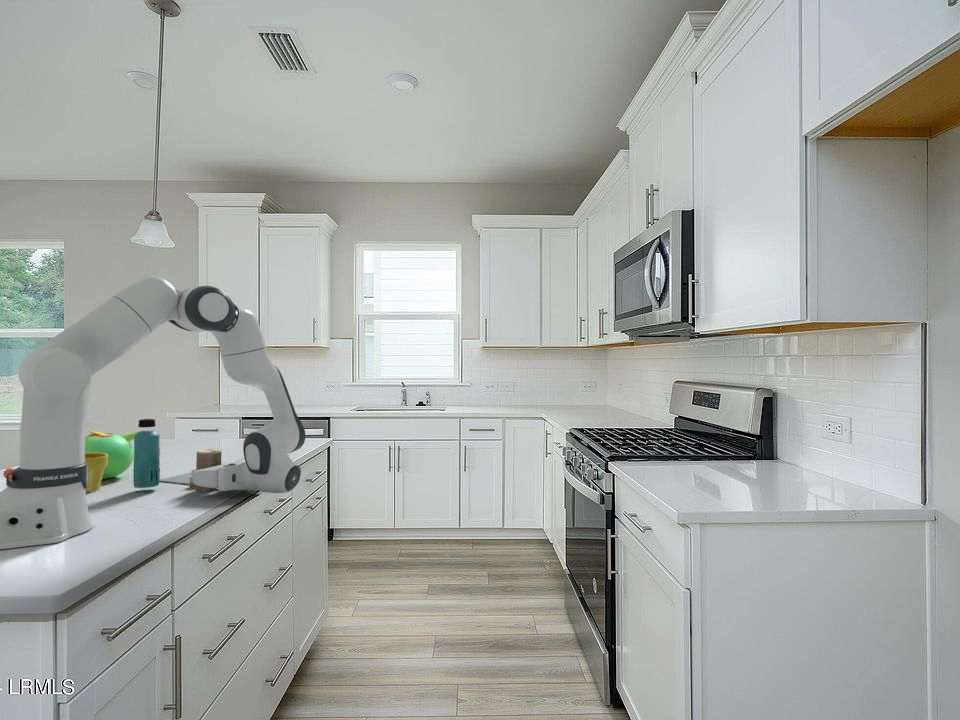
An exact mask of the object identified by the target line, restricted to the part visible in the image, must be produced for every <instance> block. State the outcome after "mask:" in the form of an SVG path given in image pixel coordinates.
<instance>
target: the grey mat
mask: <svg viewBox="0 0 960 720" xmlns="http://www.w3.org/2000/svg"><path fill="white" fill-rule="evenodd" d="M190 476H192V475H191V472H187V473H183V474H177V475H174V476H170V477H165V478H159V480H160V481H159V483H167V482H168V483H167V484H169V483H170V484H176V483H177V485H178V484H179V485H184V484H188V485H187V486H189V484H190Z"/></svg>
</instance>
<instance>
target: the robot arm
mask: <svg viewBox="0 0 960 720" xmlns="http://www.w3.org/2000/svg"><path fill="white" fill-rule="evenodd" d="M167 322H169V323H171V324H172V325H174V326H176V327H177V328H179V329H182V330H184V331H187V332H197V333H199V332H209V333H211V334H212V335H213V336H214V338H215V339H216V341H217V344H218V347H219V353H220V356H221V361H222V365H223V368H224V371H225V373H226V374H227V376H228V377H229V379H232V380H233V381H234V382H236V383H238V384H241V385H245V386H250V387H251V386H252V387H256V388H259V389H260V390H262V392H263V393H264V395H265V397H266V400H267V403H268V406H269V408H270V411H271V413H272V417H273V419H272V422H271V423H269V424H267V425H266V426H262V427H260V428H258V429H256V430H254V431H253V432H250V433H248V434H247V435H246V437H245V439H244V441H243V444H242V445H243V446H242V451H243V456H242V457H239V458H237V459H236V460H234V461H232V462H227V463H223V462H221V465H218V466H214V467H209V468H205V469H192V470H191V472H190V473H191V475H192V476H193V483H194V484H195V485H197V486H202V487H208V488H218V489H217V490H218V491H219V492H229V491H238V490H239V491H250V492H256V491H257V492H258V491H260V492H262V493H269V494H285V493H289V492H291V491H293V489H295V488H296V487H297V485H299V481H300V479H301V475H302V470H301V467H300V465H299V464H297V463H295V462H294V461H293V460H292V459H291V458H290V456H289V454H291V453H293V452H295V451H298V450H299V449H301V448H302V447H303V445H304V443H305V441H306V431H305V427H304V424H303V423H302V422H301V420H300V418H299V416H298V414H297V412H296V410H295V407H294V404H293V401H292V398H291V396H290V393H289V390H288V388H287V385H286V383H285V380H284V376H283V375H282V373H281V371H280V369H279V368H278V367H277V365H274V363H273V361H272V359H271V358H270V355H269V353H268V349H267V347H266V341H265V338H264V335H263V332H262V330H261V326H260V325H259V321H258V320H257V317H256V315H255V314H254V313H253V312H252V311H251V310H250V309H249V310H248V309H246V308H242V307H241V308H239V306H237V305H236V304H235V303H234V302H233V301H232V299H231V298H230V296H229V295H228V293H226V291H224V290H222V289H221V288H219V287H216V286H213V285H201V286H191V287H188V288H183V289H177V288H175V286H173V284H171V283H170V282H169V281H168V280H166V279H164V278H162V277H160V276H155V275H149V276H146V277H144V278H142V279H138V280H137V281H135V282H134V283H132V284H130V285H128V286H126V287H124V288H122V289H121V290H120V291H118V292H117V293H115V294H114V295H113V296H111V297H109V298H108V299H107V300H105V301H104V302H103V303H102V304H100V305H98V306H97V307H96V308H95V309H93V310H92V311H90V312H89V313H88V314H86V315H85V316H84V317H82V318H80V319H79V320H77V321H76V322H74V323H73V324H71V325H70V326H68V327H66V328H65V329H64V330H62V331H61V332H60V333H58V334H57V335H55V336H53V337H52V338H51V339H49V340H48V341H46V342H45V343H43V344H42V345H40V346H39V347H38V348H36V349H35V350H33V351H32V352H30V353H29V354H27V355H26V356H25V357H24V358H23V359H22V361H21V362H20V364H19V366H18V371H17V372H18V373H17V375H18V379H19V383H20V385H21V386H22V387H23V392H22V409H21V419H20V426H19V465H18V467H16V468H15V469H14V468H13V467H8V468H6V469H5V470H3V473H2V475H3V477H4V478H5V479H6V480H5V481H6V482H5V484H6V487H5V488H4V489H2V491H1V490H0V550H7V549H13V548H14V549H15V548H22V547H30V546H39V545H47V544H49V545H50V544H56V543H60V542H63V541H65V540H67V539H69V538H71V537H74V536H77V535H80V534H83V533H85V532H87V531H90V530H91V529H92V528H93V526H94V525H93V522H92V519H91V516H90V511H89V507H88V506H89V505H88V501H87V493H86V491H85V489H86V487H87V481H88V468H87V463H86V462H85V436H86V425H87V424H86V423H87V418H88V417H87V416H88V409H89V403H90V402H89V400H90V391H91V379H92V376H94V375H95V374H96V373H98V372H100V371H101V370H103V368H106V367H107V366H108V365H110V364H111V363H113V362H115V361H116V360H118V359H119V358H121V357H123V356H124V355H125V354H126V353H127V352H129V351H130V350H131V349H133V348H134V347H135V346H137V345H138V344H139V343H140V342H141V341H143V340H144V339H145V338H147V337H148V336H149V335H150V334H151V333H153V332H154V331H155V330H156V329H157V328H159V327H160V326H161V325H163V324H165V323H167Z"/></svg>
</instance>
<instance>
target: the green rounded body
mask: <svg viewBox="0 0 960 720" xmlns="http://www.w3.org/2000/svg"><path fill="white" fill-rule="evenodd" d="M138 432H139V431H136V432H130V433H126V434H120V435H118V434H115V433H113V432H112V433H111V432H109V433H108V432H101V431H95V430H93V431H91V430H89V431H88V433H89V434H87V435H85V453H106V454H108V465H107V467H105V469H104V473H103V477H102V480H106V479H111V478H114V477H117V476H119V475H121V474H123V473H125V472H126V471H127V470H128V469H129V468H130V466H131V465H132V464H133V462H134V446H132V444H131V441H134V435H135V434H136V433H138Z"/></svg>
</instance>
